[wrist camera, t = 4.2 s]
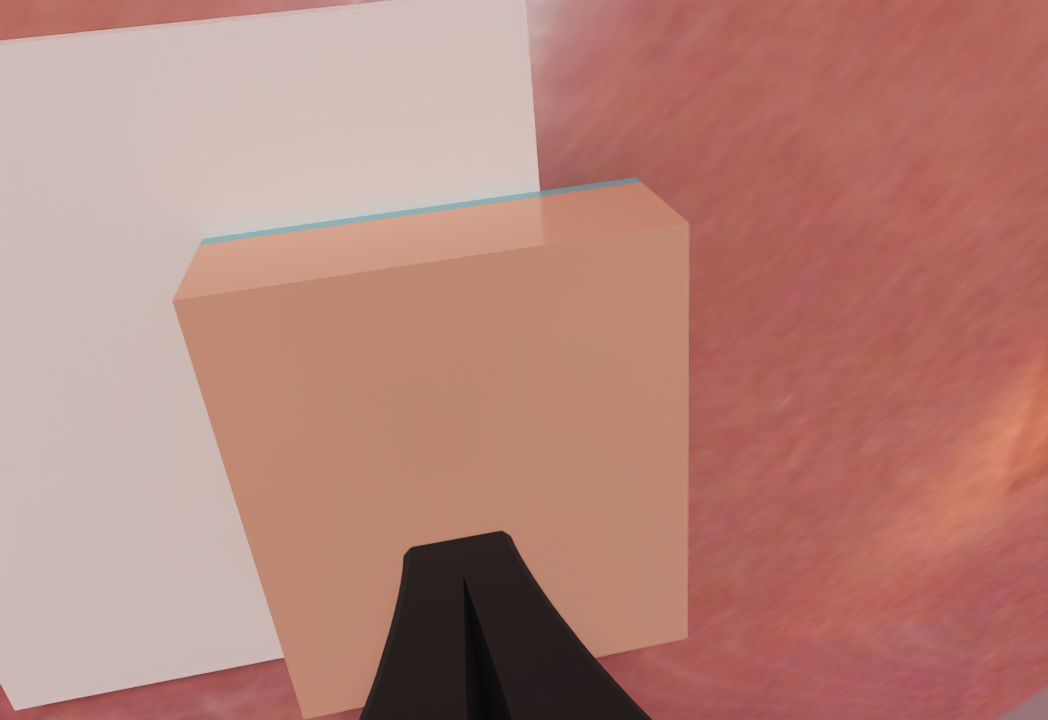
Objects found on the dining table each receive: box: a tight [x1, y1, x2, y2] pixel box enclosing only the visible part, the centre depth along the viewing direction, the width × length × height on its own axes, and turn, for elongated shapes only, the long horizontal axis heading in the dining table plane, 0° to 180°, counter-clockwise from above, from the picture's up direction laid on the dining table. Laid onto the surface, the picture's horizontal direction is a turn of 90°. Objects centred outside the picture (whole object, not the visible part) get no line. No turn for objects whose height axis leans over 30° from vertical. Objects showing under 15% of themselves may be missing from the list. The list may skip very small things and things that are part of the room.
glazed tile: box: [172, 177, 689, 719], centre depth 14 cm, size 2×8×7 cm
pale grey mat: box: [0, 0, 540, 710], centre depth 15 cm, size 11×12×1 cm
